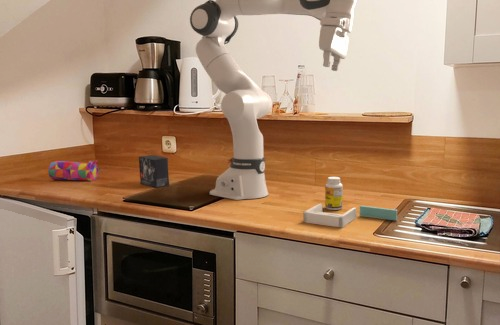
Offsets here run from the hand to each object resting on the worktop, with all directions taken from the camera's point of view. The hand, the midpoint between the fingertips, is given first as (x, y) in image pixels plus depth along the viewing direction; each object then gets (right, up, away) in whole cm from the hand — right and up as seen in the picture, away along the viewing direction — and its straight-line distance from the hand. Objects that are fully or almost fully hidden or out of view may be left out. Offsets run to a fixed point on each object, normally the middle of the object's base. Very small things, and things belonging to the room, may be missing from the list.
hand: (330, 68), depth 149 cm
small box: (-66, -40, +46) cm, 90 cm away
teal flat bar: (+12, -47, -11) cm, 50 cm away
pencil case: (-105, -39, +61) cm, 128 cm away
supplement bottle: (+2, -46, +2) cm, 46 cm away
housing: (-2, -47, -11) cm, 49 cm away
